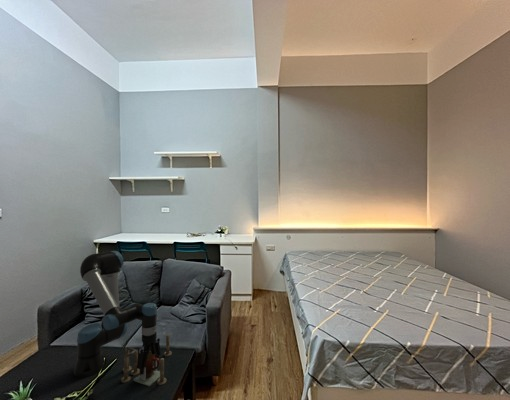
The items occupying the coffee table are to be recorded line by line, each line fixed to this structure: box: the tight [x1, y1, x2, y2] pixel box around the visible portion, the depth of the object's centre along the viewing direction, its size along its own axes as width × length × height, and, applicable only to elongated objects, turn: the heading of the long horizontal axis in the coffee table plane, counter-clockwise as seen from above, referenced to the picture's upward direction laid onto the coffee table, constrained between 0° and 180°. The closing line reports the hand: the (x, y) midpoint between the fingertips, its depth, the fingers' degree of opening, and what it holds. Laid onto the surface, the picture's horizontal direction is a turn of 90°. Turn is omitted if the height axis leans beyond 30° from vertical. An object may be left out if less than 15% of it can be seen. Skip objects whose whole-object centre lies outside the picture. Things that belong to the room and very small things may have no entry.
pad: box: [133, 370, 160, 387], centre depth 146 cm, size 11×11×1 cm
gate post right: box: [156, 357, 168, 386], centre depth 143 cm, size 5×5×12 cm
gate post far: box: [163, 333, 173, 357], centre depth 168 cm, size 5×5×12 cm
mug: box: [139, 350, 161, 378], centre depth 146 cm, size 12×9×10 cm
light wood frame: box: [120, 346, 140, 383], centre depth 148 cm, size 11×11×13 cm
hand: (149, 374), depth 146 cm, fingers closed on mug, 7 cm apart
